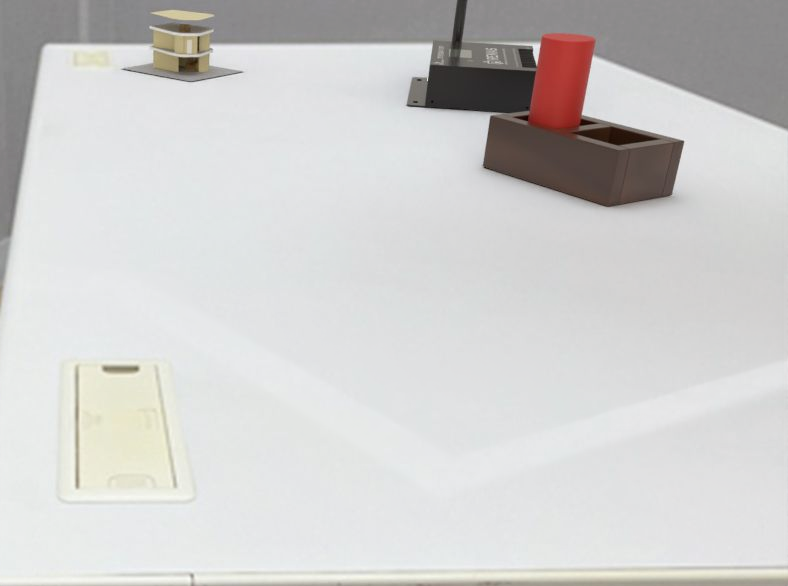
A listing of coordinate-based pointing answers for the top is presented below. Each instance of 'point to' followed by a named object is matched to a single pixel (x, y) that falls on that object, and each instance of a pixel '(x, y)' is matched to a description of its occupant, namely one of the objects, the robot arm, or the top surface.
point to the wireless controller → (476, 74)
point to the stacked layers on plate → (182, 49)
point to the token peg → (561, 80)
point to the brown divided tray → (585, 158)
